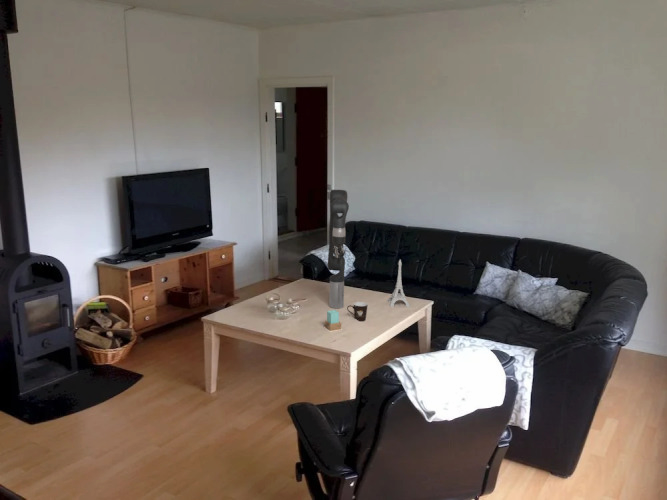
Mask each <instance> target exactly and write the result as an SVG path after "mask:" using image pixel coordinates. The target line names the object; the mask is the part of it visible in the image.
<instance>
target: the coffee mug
mask: <svg viewBox="0 0 667 500" xmlns="http://www.w3.org/2000/svg"><path fill="white" fill-rule="evenodd" d="M368 305H369V304H368V303H367V302H364V301H356V302H353V305H348V306H347V311H348V312H349V313H350V314H351V315H352V316H354V319H355V320H356V321H357V322H365V321H366V317H367V313H368ZM349 307H351V308H352V309H353V312H352V311H350V310H349Z"/></svg>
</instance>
